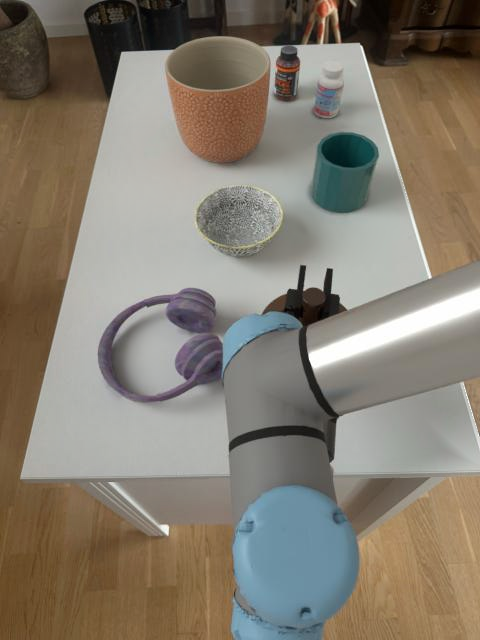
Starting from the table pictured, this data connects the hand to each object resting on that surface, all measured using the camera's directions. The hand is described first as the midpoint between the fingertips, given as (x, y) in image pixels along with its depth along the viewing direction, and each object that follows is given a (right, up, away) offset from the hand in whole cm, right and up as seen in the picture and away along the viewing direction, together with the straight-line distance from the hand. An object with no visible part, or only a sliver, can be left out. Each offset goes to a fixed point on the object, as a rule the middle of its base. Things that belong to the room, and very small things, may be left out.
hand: (315, 273), depth 56 cm
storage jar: (+11, +21, +37) cm, 44 cm away
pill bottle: (+12, +46, +54) cm, 71 cm away
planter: (-14, +34, +47) cm, 60 cm away
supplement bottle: (+2, +52, +58) cm, 78 cm away
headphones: (-22, -12, +17) cm, 30 cm away
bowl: (-10, +9, +30) cm, 33 cm away
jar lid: (-1, -7, +2) cm, 8 cm away
